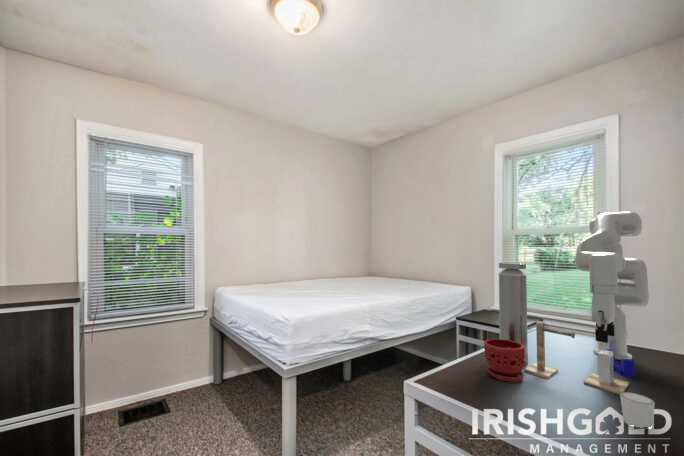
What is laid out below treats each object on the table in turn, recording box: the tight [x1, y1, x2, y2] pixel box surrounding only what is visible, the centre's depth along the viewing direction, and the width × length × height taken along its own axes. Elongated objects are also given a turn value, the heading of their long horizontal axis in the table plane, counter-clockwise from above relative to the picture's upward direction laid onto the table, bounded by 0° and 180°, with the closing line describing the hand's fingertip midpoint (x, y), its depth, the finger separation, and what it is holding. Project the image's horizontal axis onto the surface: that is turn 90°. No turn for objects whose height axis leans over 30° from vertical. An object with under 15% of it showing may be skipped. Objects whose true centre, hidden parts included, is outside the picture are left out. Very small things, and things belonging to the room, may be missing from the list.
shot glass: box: [619, 391, 655, 428], centre depth 84 cm, size 7×7×7 cm
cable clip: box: [603, 349, 635, 378], centre depth 121 cm, size 12×4×6 cm, turn 170°
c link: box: [597, 349, 615, 386], centre depth 108 cm, size 6×3×10 cm, turn 129°
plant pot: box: [483, 338, 525, 382], centre depth 114 cm, size 13×13×12 cm
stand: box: [523, 320, 576, 380], centre depth 116 cm, size 10×15×18 cm
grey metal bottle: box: [498, 261, 529, 367], centre depth 129 cm, size 10×10×40 cm
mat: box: [583, 372, 630, 395], centre depth 108 cm, size 12×10×1 cm
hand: (605, 338), depth 109 cm, fingers open, 9 cm apart
